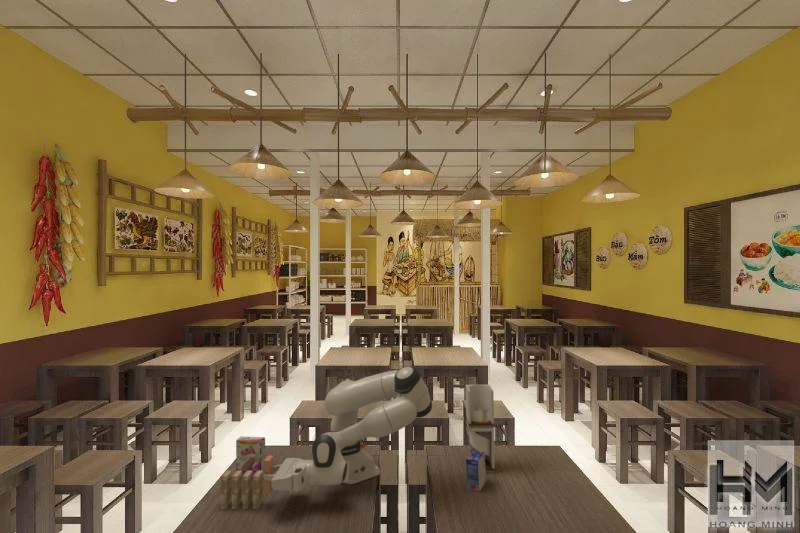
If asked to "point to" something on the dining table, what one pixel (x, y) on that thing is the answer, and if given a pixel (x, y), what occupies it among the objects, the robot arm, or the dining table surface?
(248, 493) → the cream domino
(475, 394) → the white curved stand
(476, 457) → the ink cartridge box
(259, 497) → the cream domino
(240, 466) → the candy bar box
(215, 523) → the dining table surface
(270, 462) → the terracotta domino
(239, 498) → the cream domino
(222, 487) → the cream domino
